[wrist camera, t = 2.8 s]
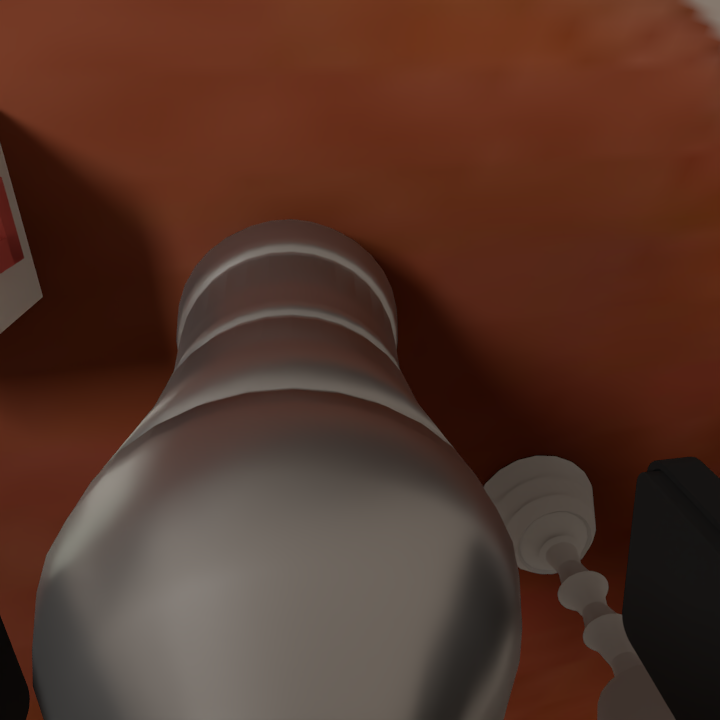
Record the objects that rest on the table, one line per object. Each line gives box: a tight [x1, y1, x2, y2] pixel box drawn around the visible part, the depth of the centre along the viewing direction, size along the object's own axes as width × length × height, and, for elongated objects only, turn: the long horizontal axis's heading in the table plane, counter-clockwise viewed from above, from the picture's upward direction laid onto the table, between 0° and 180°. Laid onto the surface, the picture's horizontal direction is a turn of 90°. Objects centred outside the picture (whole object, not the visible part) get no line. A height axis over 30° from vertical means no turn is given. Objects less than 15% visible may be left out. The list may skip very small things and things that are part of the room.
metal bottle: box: [32, 219, 522, 720], centre depth 13 cm, size 6×7×20 cm
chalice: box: [483, 456, 676, 720], centre depth 19 cm, size 7×7×18 cm
